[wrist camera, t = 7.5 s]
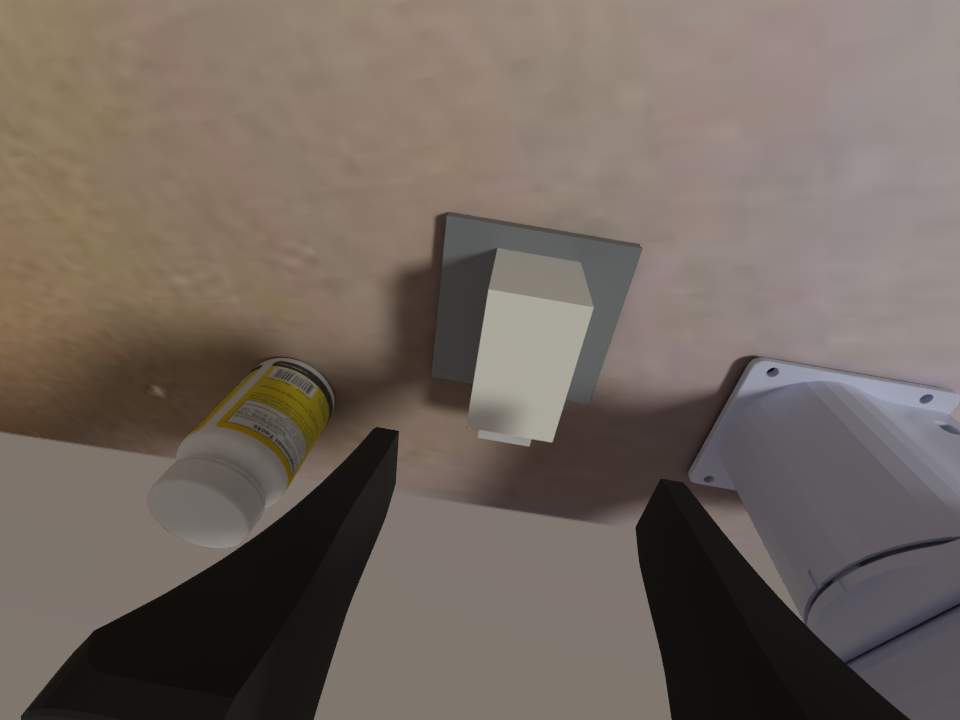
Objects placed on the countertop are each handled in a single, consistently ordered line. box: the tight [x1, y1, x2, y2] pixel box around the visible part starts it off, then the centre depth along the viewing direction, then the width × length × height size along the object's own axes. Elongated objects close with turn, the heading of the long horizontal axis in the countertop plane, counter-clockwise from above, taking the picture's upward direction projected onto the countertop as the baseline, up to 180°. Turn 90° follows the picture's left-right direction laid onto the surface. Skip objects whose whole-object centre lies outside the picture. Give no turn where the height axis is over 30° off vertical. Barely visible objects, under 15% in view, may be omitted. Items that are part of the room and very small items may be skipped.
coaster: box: [431, 212, 642, 404], centre depth 20 cm, size 8×8×1 cm
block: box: [466, 248, 594, 447], centre depth 18 cm, size 4×8×4 cm, turn 172°
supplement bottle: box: [147, 358, 335, 549], centre depth 21 cm, size 5×5×8 cm
